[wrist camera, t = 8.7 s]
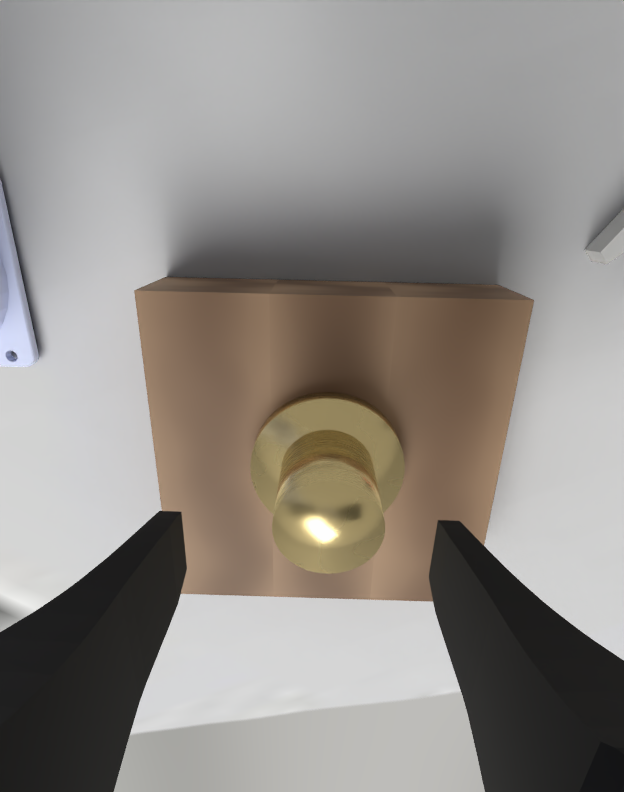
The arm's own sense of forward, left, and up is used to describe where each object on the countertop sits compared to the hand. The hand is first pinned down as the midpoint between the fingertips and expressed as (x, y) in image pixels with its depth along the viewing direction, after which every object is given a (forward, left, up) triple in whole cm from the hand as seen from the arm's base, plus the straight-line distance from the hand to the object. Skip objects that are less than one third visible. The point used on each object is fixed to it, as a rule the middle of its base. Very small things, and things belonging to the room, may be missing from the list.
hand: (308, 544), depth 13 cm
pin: (+1, -1, -9) cm, 9 cm away
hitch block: (+1, -1, -9) cm, 9 cm away
